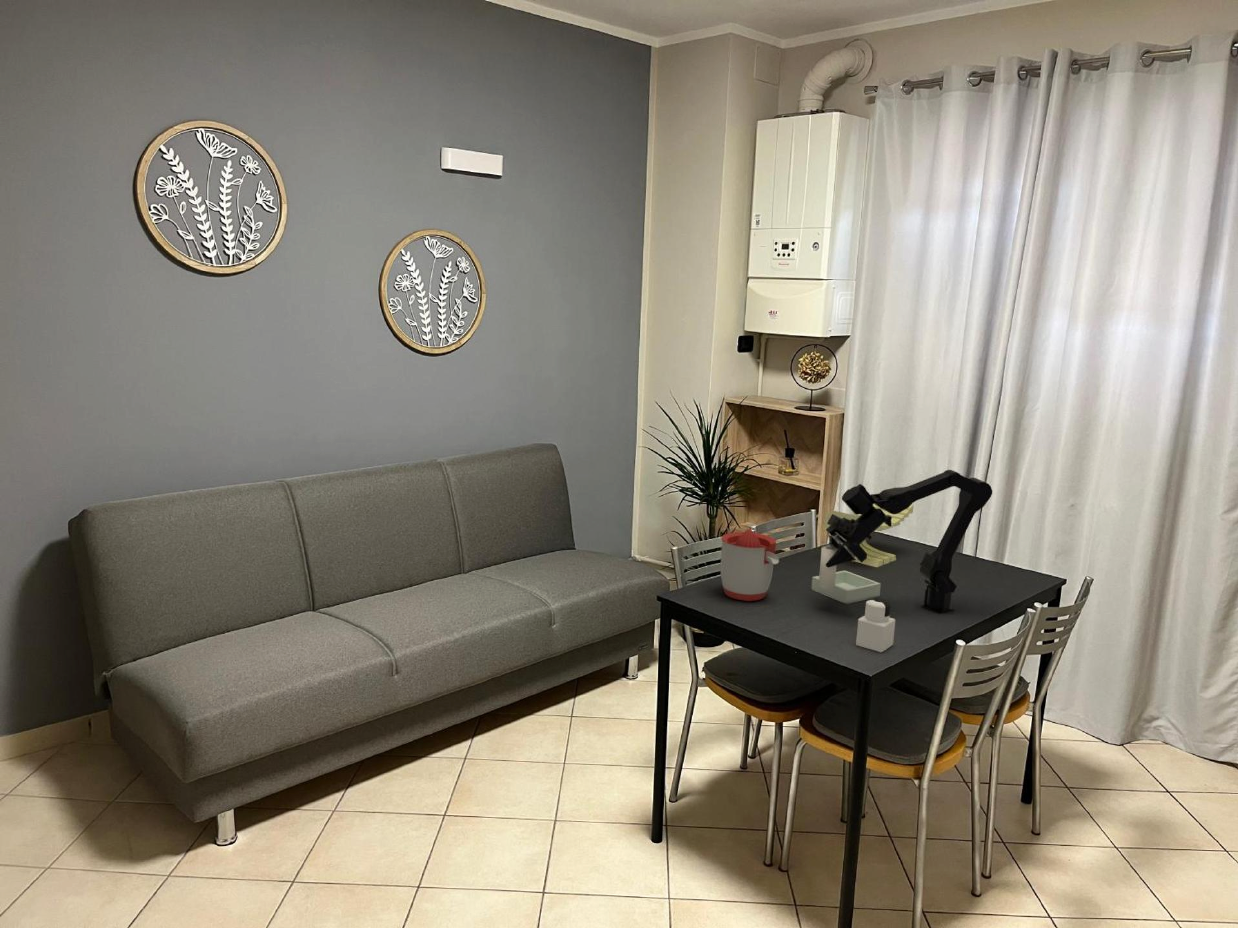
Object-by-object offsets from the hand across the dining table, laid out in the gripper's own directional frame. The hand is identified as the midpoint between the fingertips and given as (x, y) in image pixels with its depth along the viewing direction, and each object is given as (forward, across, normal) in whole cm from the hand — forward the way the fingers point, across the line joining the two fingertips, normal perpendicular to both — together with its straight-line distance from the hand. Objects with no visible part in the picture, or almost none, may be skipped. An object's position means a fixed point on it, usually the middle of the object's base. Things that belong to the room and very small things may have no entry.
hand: (823, 563), depth 258 cm
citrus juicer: (+22, -11, -3) cm, 25 cm away
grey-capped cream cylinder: (+4, 0, +6) cm, 7 cm away
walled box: (+1, -14, +18) cm, 23 cm away
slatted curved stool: (-13, -49, +33) cm, 60 cm away
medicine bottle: (+6, +26, +14) cm, 30 cm away
